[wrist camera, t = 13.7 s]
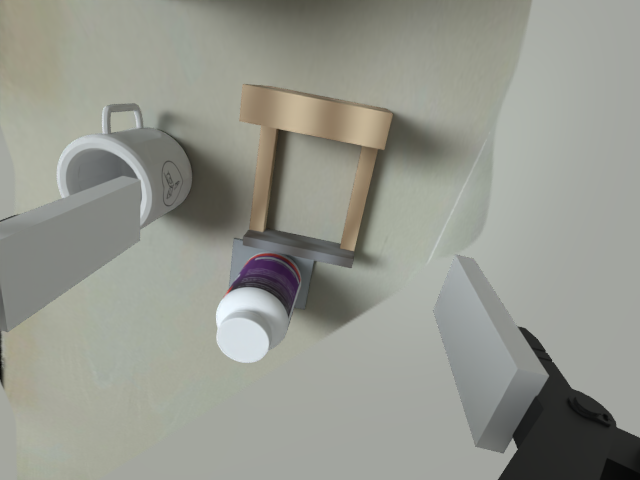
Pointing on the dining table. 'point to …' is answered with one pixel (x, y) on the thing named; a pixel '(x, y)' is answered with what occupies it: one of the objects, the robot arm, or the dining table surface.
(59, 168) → the mug
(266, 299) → the pill bottle
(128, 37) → the dining table surface
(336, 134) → the wooden bottle holder
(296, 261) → the mat
